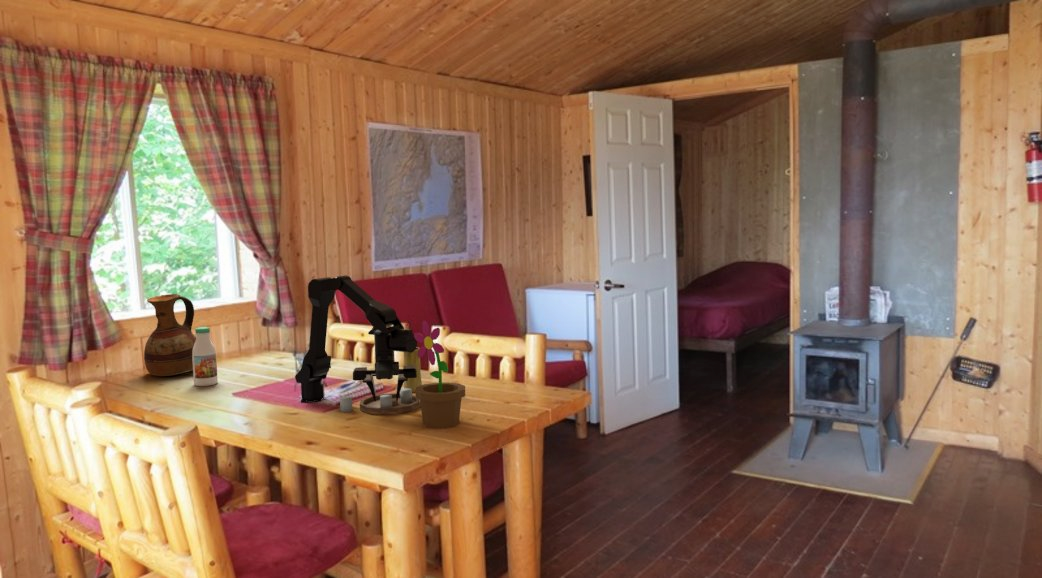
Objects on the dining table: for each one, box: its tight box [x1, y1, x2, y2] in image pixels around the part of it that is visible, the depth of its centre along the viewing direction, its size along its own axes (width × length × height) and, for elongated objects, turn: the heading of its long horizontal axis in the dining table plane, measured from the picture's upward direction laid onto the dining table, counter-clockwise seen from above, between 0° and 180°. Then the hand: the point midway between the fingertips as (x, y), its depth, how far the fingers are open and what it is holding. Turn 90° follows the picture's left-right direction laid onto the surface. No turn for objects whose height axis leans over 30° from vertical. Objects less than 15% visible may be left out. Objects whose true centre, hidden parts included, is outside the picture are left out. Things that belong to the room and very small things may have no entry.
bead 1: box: [339, 395, 354, 413], centre depth 233 cm, size 4×4×4 cm
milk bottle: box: [192, 326, 219, 387], centre depth 269 cm, size 8×8×20 cm
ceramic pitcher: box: [143, 293, 197, 377], centre depth 286 cm, size 20×20×30 cm
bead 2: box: [380, 395, 393, 408], centre depth 232 cm, size 4×4×4 cm
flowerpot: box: [413, 319, 466, 430], centre depth 217 cm, size 14×14×30 cm
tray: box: [359, 392, 421, 416], centre depth 237 cm, size 18×18×2 cm
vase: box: [403, 346, 423, 394], centre depth 256 cm, size 6×6×14 cm
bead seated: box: [400, 387, 413, 404], centre depth 239 cm, size 4×4×4 cm
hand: (386, 400), depth 232 cm, fingers open, 6 cm apart
